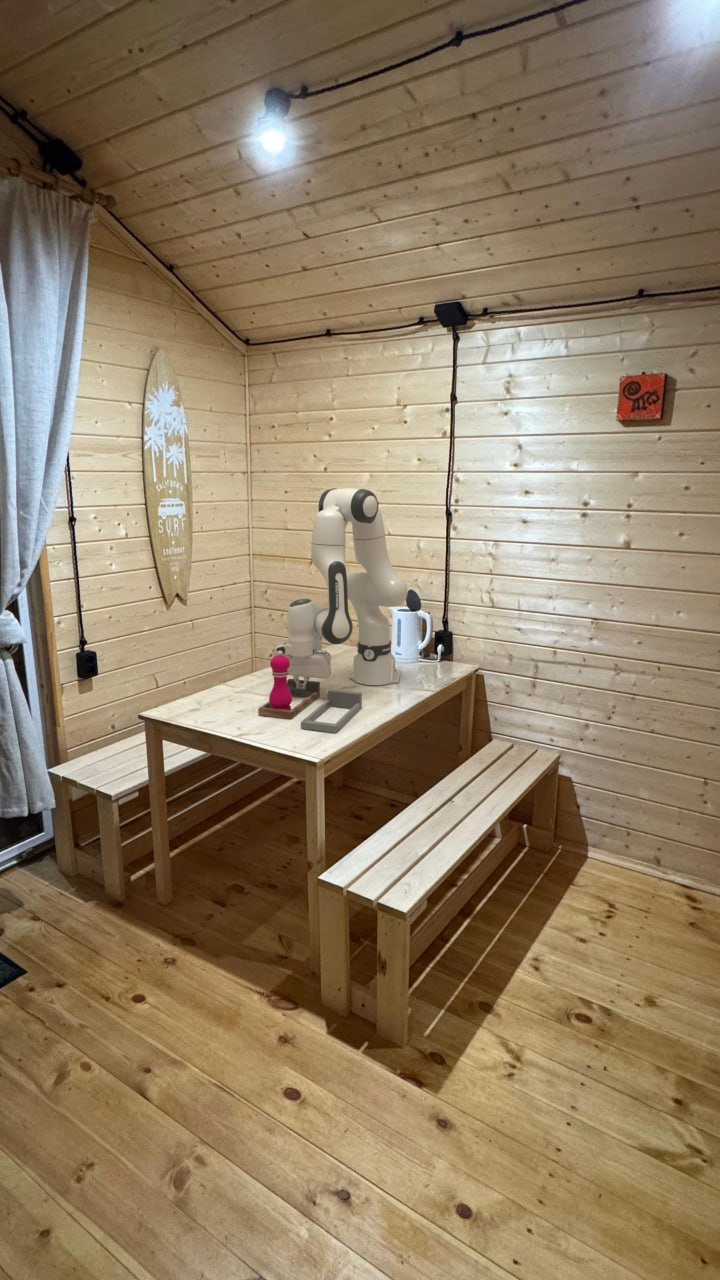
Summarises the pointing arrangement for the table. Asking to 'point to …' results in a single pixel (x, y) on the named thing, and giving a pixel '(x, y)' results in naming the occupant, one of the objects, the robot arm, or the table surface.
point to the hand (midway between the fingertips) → (301, 688)
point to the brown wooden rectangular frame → (310, 692)
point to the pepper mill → (280, 683)
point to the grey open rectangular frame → (338, 700)
